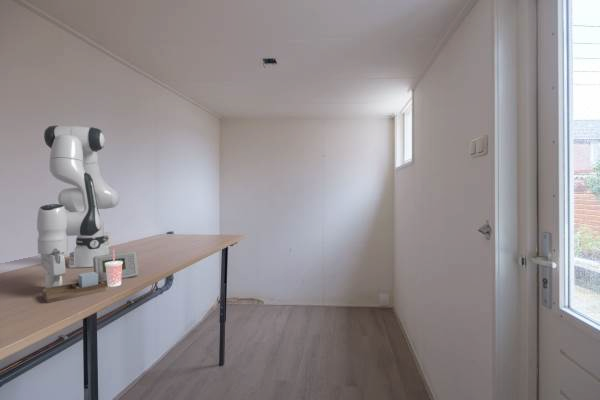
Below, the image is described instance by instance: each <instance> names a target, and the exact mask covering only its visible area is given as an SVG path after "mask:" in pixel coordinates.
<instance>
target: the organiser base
mask: <svg viewBox="0 0 600 400" xmlns="http://www.w3.org/2000/svg"><path fill="white" fill-rule="evenodd" d="M106 283H107V282H103V281H101V280H99V279H98V284H97V285H92V286H87V287H82V288H79V283H78V282H73V283H69V284H63V285H62V286H56V287H51V288H46V287H45V288H42V289H41V297H42V299H44V301H45V302H46V303H47V304H48V303H49V304H50V303H54V302H59V301H64V300H67V299H71V298H77V297H78V298H79V297H81V296H86V295H91V294H95V293H100V292H101V293H102V292H104V291H106V290H107V287H106V286H107V284H106Z"/></svg>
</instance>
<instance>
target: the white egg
mask: <svg viewBox="0 0 600 400" xmlns="http://www.w3.org/2000/svg"><path fill="white" fill-rule="evenodd" d="M44 279H45V280H44V281H45V289H46V288H51V287H56V286H53V283H52V281H53V277H52V275H51V274H50V273H49V274H48V273H46V274H45V278H44ZM62 285H64V283H63V276H60V280H59V286H62Z"/></svg>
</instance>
